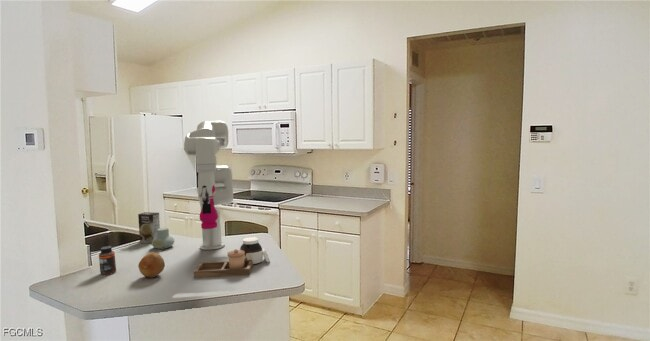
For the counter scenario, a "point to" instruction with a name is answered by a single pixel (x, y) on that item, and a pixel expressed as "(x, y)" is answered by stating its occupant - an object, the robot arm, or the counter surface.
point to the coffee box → (148, 226)
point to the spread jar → (253, 250)
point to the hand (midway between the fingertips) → (208, 211)
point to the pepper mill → (209, 215)
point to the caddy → (221, 269)
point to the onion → (151, 265)
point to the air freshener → (163, 239)
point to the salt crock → (236, 259)
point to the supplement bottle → (107, 261)
